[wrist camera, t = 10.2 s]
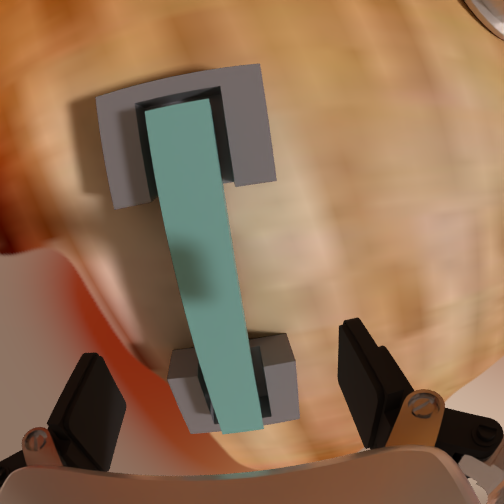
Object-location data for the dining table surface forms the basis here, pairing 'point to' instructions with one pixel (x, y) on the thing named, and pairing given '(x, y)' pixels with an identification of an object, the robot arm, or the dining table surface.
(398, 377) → the robot arm
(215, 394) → the slat
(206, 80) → the end caps
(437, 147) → the dining table surface
